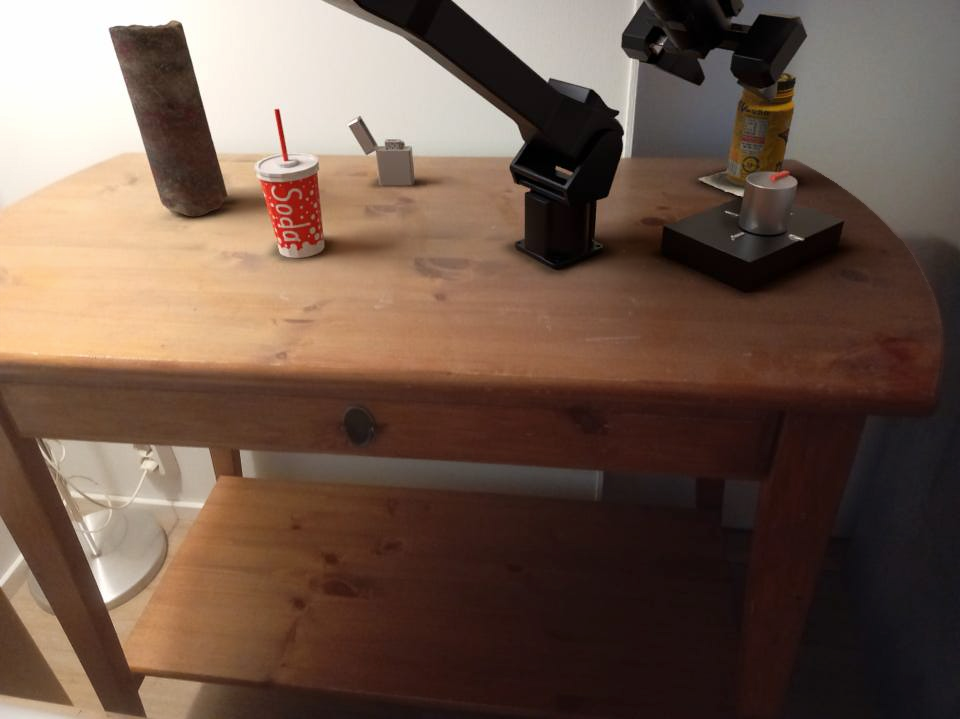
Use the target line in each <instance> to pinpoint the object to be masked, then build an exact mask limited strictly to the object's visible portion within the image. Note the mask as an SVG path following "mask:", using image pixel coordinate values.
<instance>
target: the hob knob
mask: <svg viewBox="0 0 960 719" xmlns="http://www.w3.org/2000/svg"><path fill="white" fill-rule="evenodd" d="M797 187H798V180H797V179H796V178H795V177H794V176H791V175H790V171H788V170H781V172H779V173H778V172H756V173H752V174H750V175H748V176H747V178H746V183H745V189H744V195H743V200H742V206H741V212H740V218H739V226H740V227H741V228H742V229H744V230H746V231H748V232H751V233H755V234H760V235H777V234H781V233H784V232H785V231H786V230H787V229H788V225H789V220H790V216H791V211H792V206H793V203H794V201H795V198H796V197H795V196H796V193H797V192H796V191H797Z"/></svg>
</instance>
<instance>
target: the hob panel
mask: <svg viewBox="0 0 960 719" xmlns="http://www.w3.org/2000/svg"><path fill="white" fill-rule="evenodd" d="M742 200H743V196H739V197H737V198H735V199H732V200H728V201H727V202H724V203H721V204H718V205H716V206H713V207H710V208H708V209H705V210H702V211H700V212H697V213H694V214H691V215H689V216H686V217H683V218H680V219H678V220H675V221H673V222H670V223H668V224H667V223H666V224H665V225H663V227H662V235H661V245H660V253H659V254H660V255H661V256H663V257H665V258H668V259H670V260H672V261H674V262H677V263H679V264H681V265H684V266H686V267H688V268H690V269H692V270H695V271H697V272H699V273H701V274H703V275H705V276H707V277H710V278H711V279H714V280H716V281H719V282H721V283H723V284H725V285H727V286H730V287H732V288H734V289H736V290H739V291H741V292H743V293H747V292H749V291H750V290H752V289H755V288H757V287H759V286H761V285H764V284H765V283H767V282H770V281H773V280H774V279H776V278H778V277H780V276H783V275H785V274H787V273H789V272H791V271H793V270H796V269H797V268H800V267H802V266H804V265H806V264H808V263H811V262H812V261H815V260H817V259H819V258H821V257H823V256H826V255H828V254H830V253H832V252H834V251H836V250H838V248H839V244H840V240H841V236H842V232H843V228H844V224H845V220H844V219H842V218H839V217H836V216H832V215H829V214H827V213H823V212H821V211H818V210H815V209H812V208H808V207H806V206H803V205H800V204H797V203H794V202H793V206H792V211H791V216H790V220H789V225H788V229H787V230H786V231H785V232H784V233H781V234H777V235H760V234H755V233H751V232H748V231H746V230H744V229H742V228H741V227H740V226H739V218H740V212H741V206H742Z"/></svg>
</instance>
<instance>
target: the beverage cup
mask: <svg viewBox="0 0 960 719" xmlns="http://www.w3.org/2000/svg"><path fill="white" fill-rule="evenodd" d="M274 116H275V121H276V127H277V133H278V138H279V143H280V148H281V153H277V154H274V155H273V154H272V155H270V156H266V157H264V158H261V159H259V160H258V161H257V162H256V163H254V172H255V173H256V178H258V179H259V181H260V183H261V188H262V192H263V195H264V199H265V204H266V207H267V211H268V214H269V218H270V222H271V225H272V229H273V233H274V236H275V240H276V243H277V248H278V251H279V253H280V255H282V256H283V257H287V258H290V259H291V258H292V259H302V258H309V257H311V256H315V255H317V254H319V253H321V252H322V251H323V250H324V248H326V246H325V238H324V237H325V236H324V228H323V218H322V207H321V196H320V187H319V178H318V172H319V170H320V160H319V157H318V156H316V155H314V154H311V153H306V152H288V149H287V143H286V137H285V132H284V127H283V122H282V116H281V110H280V108H275V109H274Z"/></svg>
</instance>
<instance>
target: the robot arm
mask: <svg viewBox="0 0 960 719" xmlns="http://www.w3.org/2000/svg"><path fill="white" fill-rule="evenodd" d="M321 1H323V2H324V3H325V4H327V5H328V4H329V5H330V6H333V7H335V8H337V9H339V10H341V11H343V12H345V13H347V14H349V15H351V16H353V17H356V18H358V19H359V20H362V21H364V22H367V23H370V24H372V25H375V26H377V27H378V28H381V29H383V30H386V31H388V32H391V33H393V34H395V35H398V36H400V37H402V39H403V38H404V39H405V40H406V41H407V42H408V43H410V44H411V45H413V46H414V47H415V48H417V49H418V50H419V51H420V52H422V53H423V54H424V55H426V56H427V57H428V58H430V59H431V60H433V61H434V62H435V63H436V64H438V65H439V66H440V67H442V68H443V69H444V70H446V71H447V72H448V73H450V74H451V75H452V76H454V78H456V79H458V80H459V81H460V82H462V83H463V84H464V85H465V86H467V87H468V88H469V89H471V90H472V91H473V92H475V93H476V94H478V95H479V96H480V97H481V98H483V99H484V100H486V101H487V102H488V103H489V104H491V105H492V106H493V107H494V108H496V109H497V110H499V111H500V112H501V113H502V114H504V115H505V116H507V117H508V118H509V119H510V120H512V121H513V122H514V123H515V124H516V125H517V128H518V130H519V133H520V137H521V139H522V140H523V141H524V143H523V144H522V146H521V147H520V149H519V150H518V152H516V154H515V157H513V159H512V161H510V164H509V168H508V169H509V171H510V174H511V177H512V180H513V183H514V184H515V185H518V186H522V187H524V188H526V189H529V191H526V192H524V238H522V239H519V240H516V241H515V242H514V248H515V249H517V250H518V251H521V252H523V253H524V254H526V255H528V256H529V257H531V258H533V259H535V260H537V261H539V262H541V263H542V264H545V265H547V266H548V267H550V268H552V269H558V268H561V267H564V266H567V265H569V264H572V263H575V262H578V261H581V260H582V259H585V258H588V257H591V256H593V255H596V254H599V253H601V252H604V251H603V250H604V245H603V244H601V243H599V242H597V241H595V240H594V239H595V237H596V222H597V207H598V206H597V204H598V201H599V200H603V199H606V198H608V197H609V196H610V193H611V189H612V185H613V183H614V180H615V176H616V173H617V171H618V168H619V164H620V161H621V158H622V155H623V150H624V141H623V136H625V130H624V127H623V125H622V124H621V122H620V121H619V120H618V119H617V118H616V117H617V116H619V115H620V110H618V109H614V108H611V107H610V106H608V105H607V104H606V102H605V101H604V99H603V98H602V97H601V95H600V94H599V93H598V92H597V91H595V89H593V88H591V87H590V88H589V87H587V86H582V85H579V84H574V83H571V82H567V81H565V80H560V79H557V78H554V77H549V78H548V81H547V80H546V79H544V78H543V77H542V76H541V75H540V74H539V73H538V72H537V71H535V70H534V69H533V68H532V67H530V66H529V65H528V64H527V63H526V62H525V61H523V60H522V59H521V58H520V57H519V56H518V55H516V53H514V52H513V50H511V49H510V48H508V47H507V46H506V45H504V43H502V42H501V41H500V39H498V38H497V37H495V35H493V34H492V33H491V32H490V31H488V29H486V28H485V27H484V26H483V25H482V24H480V23H479V22H478V21H477V20H475V18H474V17H472V16H471V15H470V14H469V13H467V11H465V10H464V9H463V8H461V6H459V5H458V4H457V3H456V2H455V1H453V0H321ZM744 7H745V4H744V2H743V0H643V1H642V2H641V4H640V6H639V7H638V9H637V10H636V11H635V13H634V14H633V16H632V17H631V19H630V21H629V23H628V24H627V26H626V27H625V28H624V30H623V32H622V34H621V42H620V47H621V49H622V51H623V52H624V53H625V55H626V56H627V57H628V58H629V59H632V60H636V61H638V62H639V63H641V64H643V65H646V66H649V67H651V68H654V69H657V70H659V71H661V72H664V73H667V74H669V75H671V76H673V77H676V78H678V79H681V80H683V81H686V82H688V83H690V84H692V85H695V86H697V87H700V86H702V84H703V83H704V82H705V80H706V76H705V73H704V69H703V67H702V65H701V63H700V61H699V60H703V61H705V60H706V58H707V56H708V55H709V53H710V52H711V51H713V50H715V49H720V50H725V51H730V52H733V53H732V54H731V60H730V65H729V66H730V67H729V70H730V72H731V74H732V76H733V77H734V78H736V79H737V81H736V84H737V85H739V86H740V87H741V88H742V89H744V88H745V89H747V90H748V91H750V92H752V93H753V94H755V95H756V96H758V97H760V98H761V99H763V100H765V101H767V102H772V100H773V99H774V97H775V96H776V94H777V82H778V79H779V78H780V76H781V75H782V73H783V72H785V70H786V69H787V68H788V66H789V64H790V63H791V61H792V60H793V59H794V58H795V56H796V54H797V53H798V51H799V50H800V48H801V47H802V45H803V43H805V41H806V39H807V37H808V32H807V29H806V27H805V25H804V23H803V20H802V17H801V16H800V15H793V14H787V13H786V14H785V13H779V12H778V13H777V12H771V11H770V12H769V11H766V12H762V13H759V14H758V15H757V17H756V18H755V20H754V22H753V23H752V24H751V25H750V24H749V25H748V24H744V23H743V24H742V23H736V22H732V21H731V20H732V19H733V17H734V18H738V17H739V15H740V13H742V11H743V9H744ZM557 168H560V169H562V170H566V171H568V172H570V173H571V174H569V173H566V172H565V171H561V170H558V169H557Z"/></svg>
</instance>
